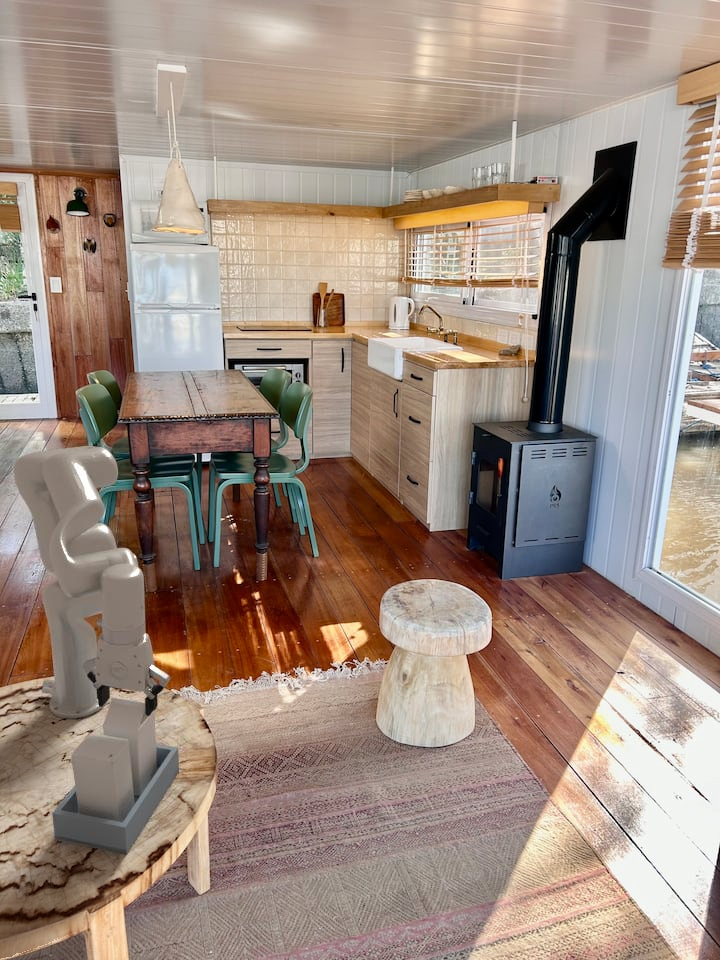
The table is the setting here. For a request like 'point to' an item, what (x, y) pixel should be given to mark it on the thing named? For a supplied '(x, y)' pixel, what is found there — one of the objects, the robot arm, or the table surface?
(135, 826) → the tote
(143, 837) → the table surface
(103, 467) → the robot arm
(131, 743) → the milk carton
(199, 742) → the table surface
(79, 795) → the skincare box
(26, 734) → the table surface
